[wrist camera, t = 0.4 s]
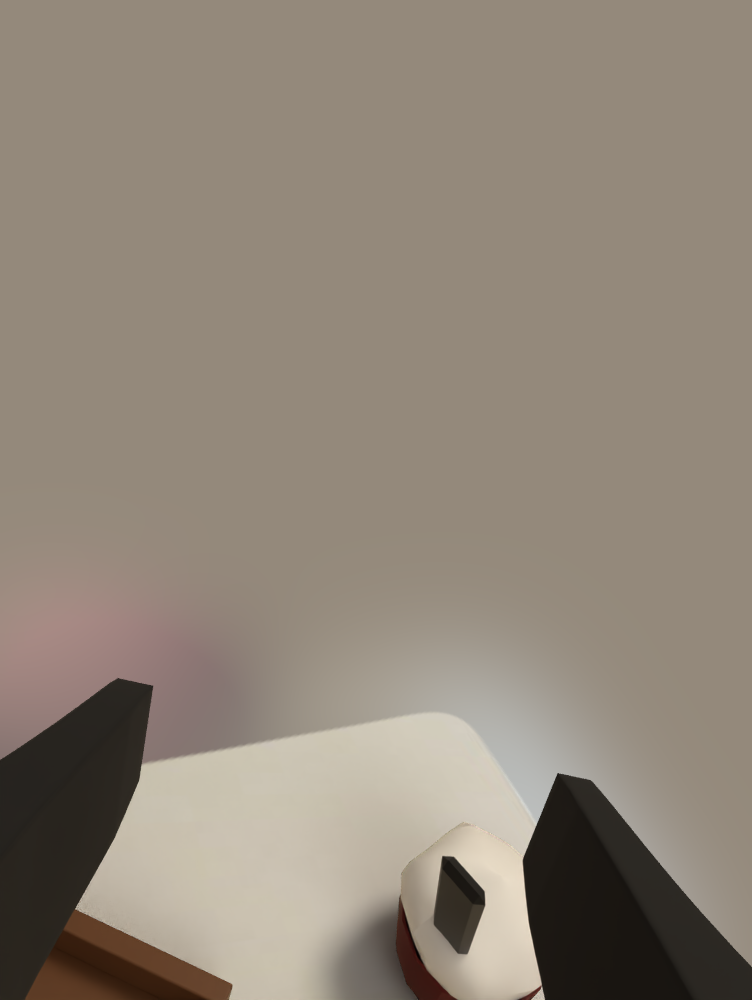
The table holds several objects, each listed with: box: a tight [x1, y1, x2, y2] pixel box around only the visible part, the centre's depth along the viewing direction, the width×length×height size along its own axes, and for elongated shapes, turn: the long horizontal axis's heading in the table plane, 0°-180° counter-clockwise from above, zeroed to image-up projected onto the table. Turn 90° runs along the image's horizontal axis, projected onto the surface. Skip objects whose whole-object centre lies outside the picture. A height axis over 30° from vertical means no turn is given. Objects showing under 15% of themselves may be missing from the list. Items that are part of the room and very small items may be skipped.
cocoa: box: [396, 822, 542, 1000], centre depth 25 cm, size 10×6×12 cm, turn 112°
